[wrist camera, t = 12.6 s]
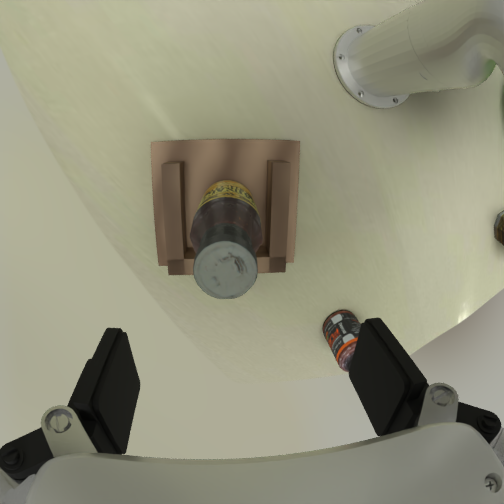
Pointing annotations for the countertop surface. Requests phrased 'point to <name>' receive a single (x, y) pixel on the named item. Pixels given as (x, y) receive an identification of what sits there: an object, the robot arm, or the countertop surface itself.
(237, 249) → the sauce bottle
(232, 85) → the countertop surface
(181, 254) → the bottle stand
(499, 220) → the ceramic cup
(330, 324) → the supplement bottle
